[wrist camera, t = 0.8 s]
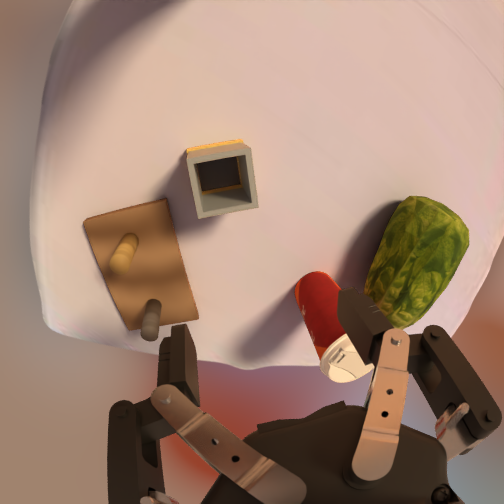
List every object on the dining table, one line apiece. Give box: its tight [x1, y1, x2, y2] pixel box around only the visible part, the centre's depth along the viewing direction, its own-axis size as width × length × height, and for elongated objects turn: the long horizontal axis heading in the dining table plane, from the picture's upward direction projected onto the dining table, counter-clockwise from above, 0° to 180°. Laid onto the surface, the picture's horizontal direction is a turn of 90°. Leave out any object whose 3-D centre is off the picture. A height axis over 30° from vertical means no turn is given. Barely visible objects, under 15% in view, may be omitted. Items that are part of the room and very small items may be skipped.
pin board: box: [83, 198, 199, 341], centre depth 29 cm, size 16×10×7 cm, turn 8°
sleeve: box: [186, 139, 259, 219], centre depth 25 cm, size 6×6×7 cm
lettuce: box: [364, 196, 469, 330], centre depth 33 cm, size 12×21×11 cm, turn 161°
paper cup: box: [295, 271, 374, 382], centre depth 32 cm, size 8×8×14 cm
